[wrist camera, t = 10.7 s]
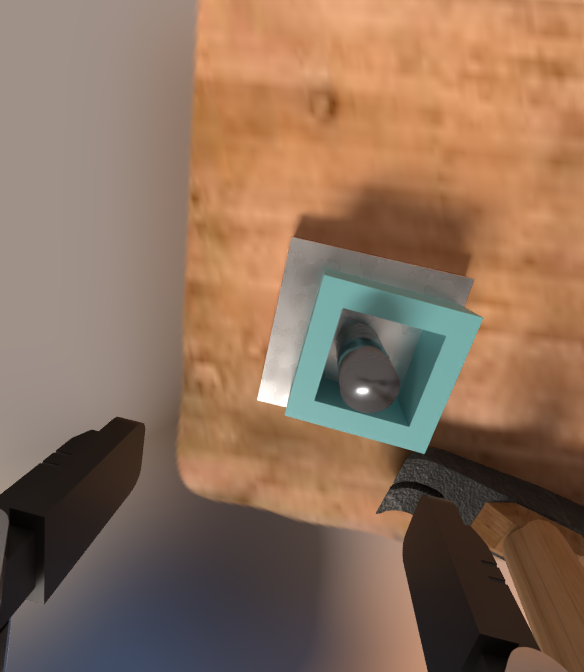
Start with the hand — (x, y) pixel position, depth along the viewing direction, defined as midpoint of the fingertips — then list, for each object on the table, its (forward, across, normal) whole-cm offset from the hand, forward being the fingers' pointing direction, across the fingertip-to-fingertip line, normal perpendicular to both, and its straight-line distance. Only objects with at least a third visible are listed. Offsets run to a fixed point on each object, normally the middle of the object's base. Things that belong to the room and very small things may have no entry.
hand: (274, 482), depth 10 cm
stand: (+17, -4, 0) cm, 17 cm away
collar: (+15, -4, 0) cm, 16 cm away
